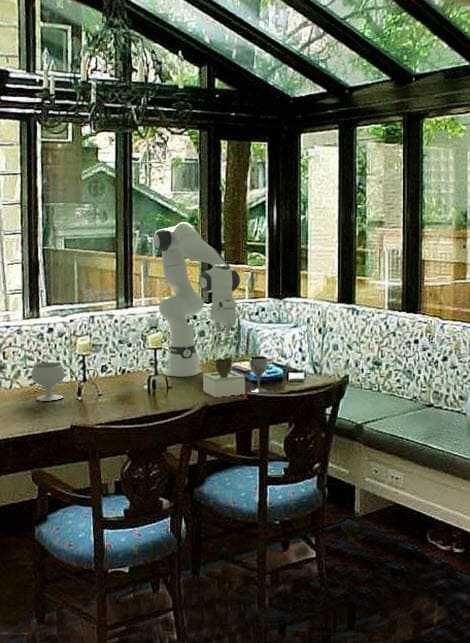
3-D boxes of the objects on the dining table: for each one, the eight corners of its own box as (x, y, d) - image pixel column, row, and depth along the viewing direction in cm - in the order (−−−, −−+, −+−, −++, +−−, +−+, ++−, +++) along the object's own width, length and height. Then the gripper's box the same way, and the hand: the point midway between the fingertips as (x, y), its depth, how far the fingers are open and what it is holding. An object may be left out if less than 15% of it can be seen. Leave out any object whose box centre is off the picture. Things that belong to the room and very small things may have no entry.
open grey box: (203, 391, 395) (203, 373, 394) (232, 387, 401) (232, 370, 400) (215, 397, 383) (215, 379, 382) (245, 394, 388) (244, 376, 387)
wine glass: (262, 388, 399) (262, 355, 397) (271, 391, 392) (270, 358, 390) (246, 390, 396) (246, 357, 394) (255, 393, 389) (254, 360, 387)
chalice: (30, 397, 389) (28, 363, 387) (62, 394, 395) (60, 360, 392) (35, 404, 377) (34, 369, 374) (68, 400, 382) (67, 366, 380)
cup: (232, 375, 394) (232, 357, 393) (231, 378, 387) (231, 360, 386) (216, 375, 395) (215, 357, 394) (214, 378, 387) (214, 360, 386)
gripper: (206, 299, 394) (207, 330, 396) (224, 305, 375) (225, 337, 378) (219, 298, 396) (220, 329, 399) (238, 304, 378) (238, 336, 380)
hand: (222, 333), depth 388 cm, fingers open, 8 cm apart
